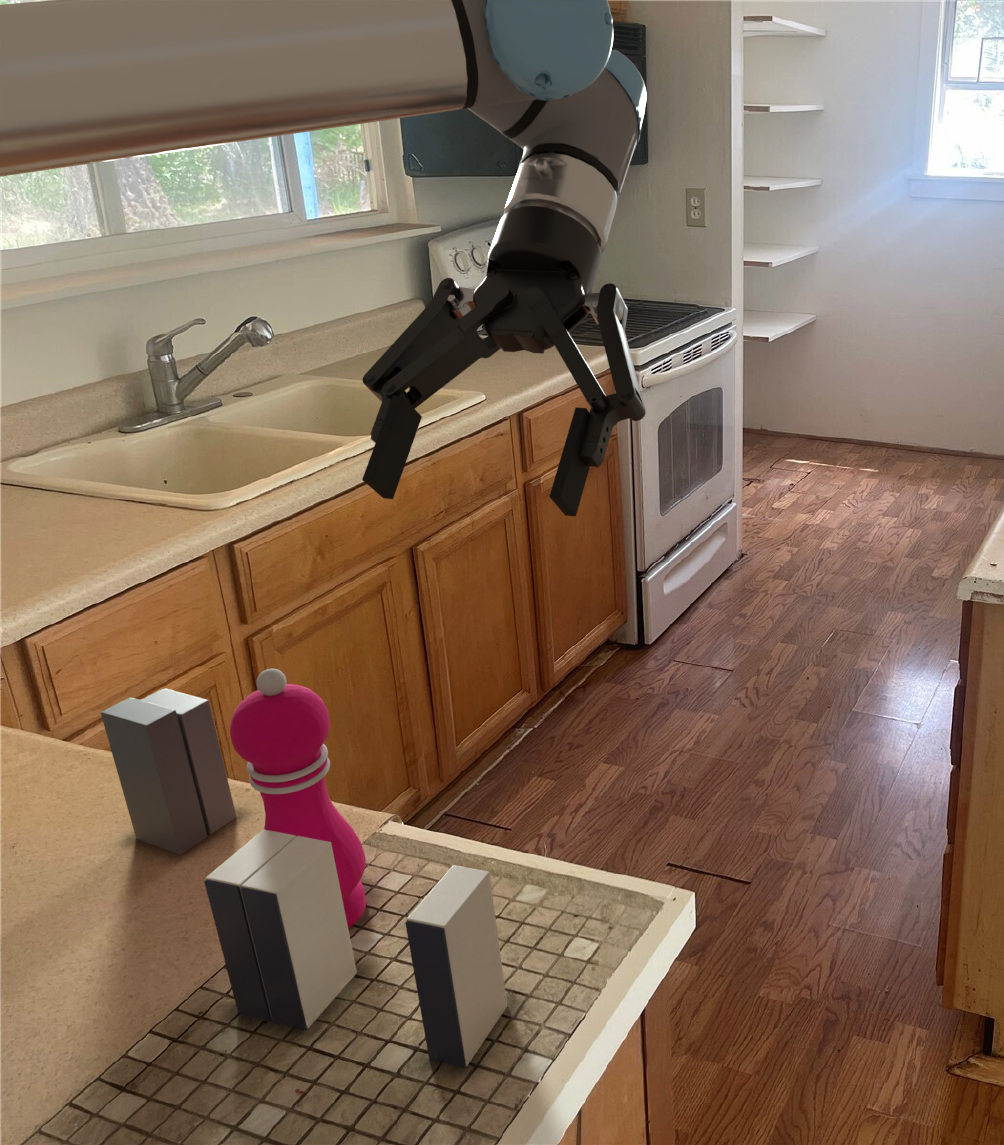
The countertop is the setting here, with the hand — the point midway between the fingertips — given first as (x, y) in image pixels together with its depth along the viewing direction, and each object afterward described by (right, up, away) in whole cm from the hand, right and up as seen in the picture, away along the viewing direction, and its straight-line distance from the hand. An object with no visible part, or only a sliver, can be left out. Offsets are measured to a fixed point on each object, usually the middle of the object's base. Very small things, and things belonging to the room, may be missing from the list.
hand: (467, 498), depth 70 cm
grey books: (-27, -26, +16) cm, 40 cm away
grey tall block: (-11, -32, -1) cm, 34 cm away
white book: (+1, -34, -4) cm, 34 cm away
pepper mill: (-12, -30, +7) cm, 33 cm away
